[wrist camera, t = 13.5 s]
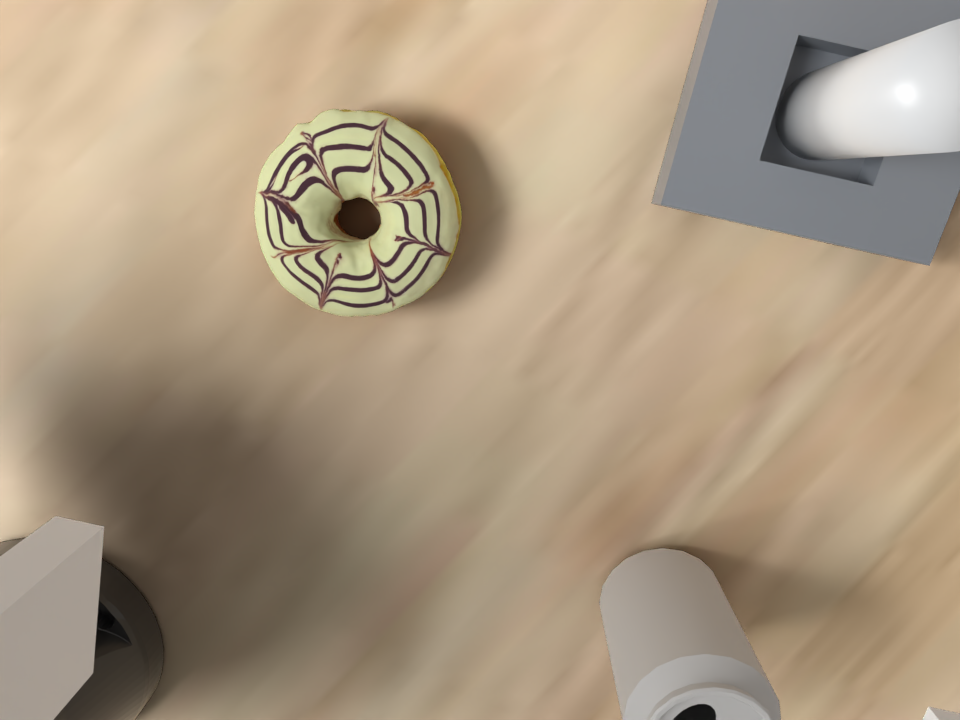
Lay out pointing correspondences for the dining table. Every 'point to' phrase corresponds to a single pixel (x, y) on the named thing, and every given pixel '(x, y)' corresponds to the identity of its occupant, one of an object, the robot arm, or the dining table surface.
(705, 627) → the can
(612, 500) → the dining table surface
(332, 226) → the decorated donut
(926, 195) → the housing
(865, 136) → the white rounded peg
